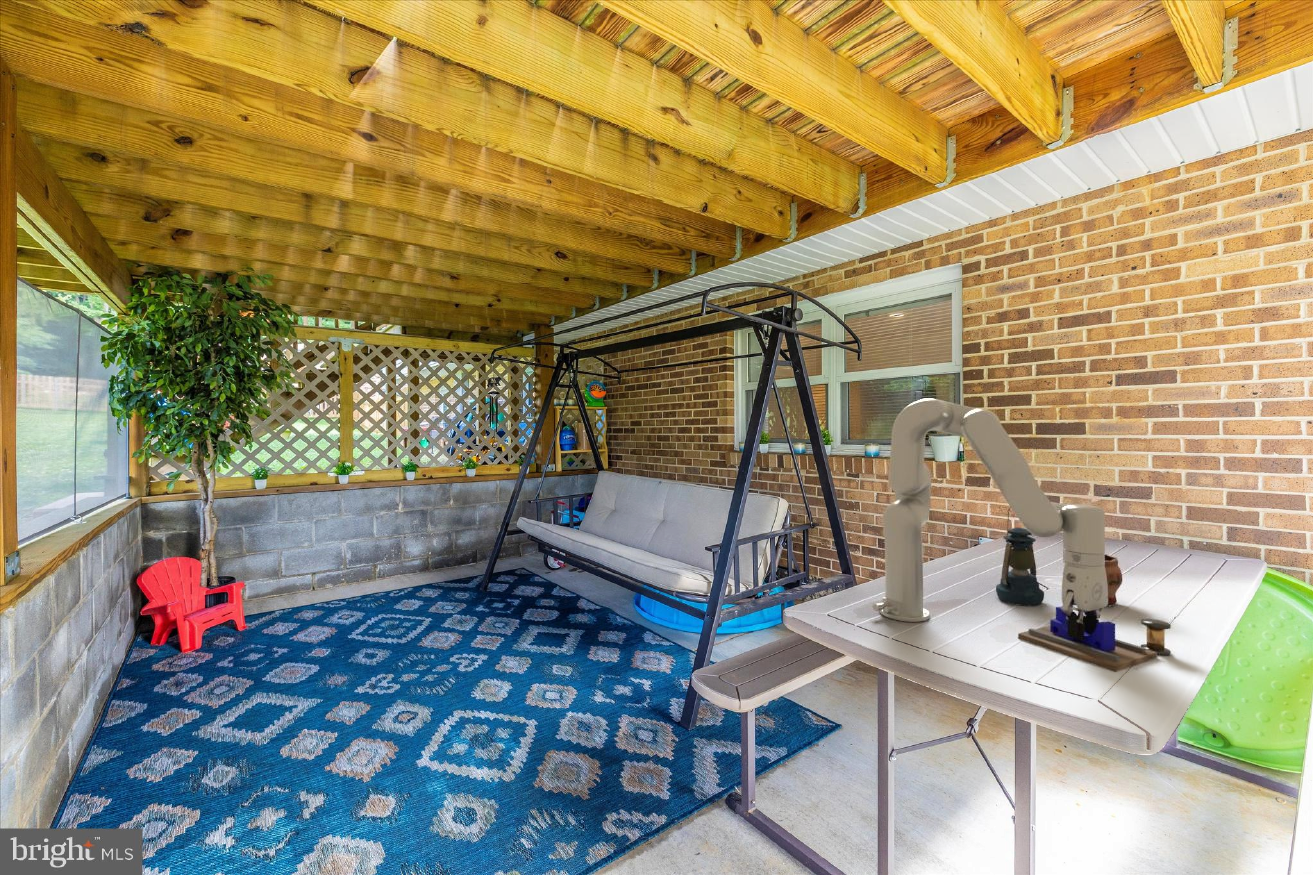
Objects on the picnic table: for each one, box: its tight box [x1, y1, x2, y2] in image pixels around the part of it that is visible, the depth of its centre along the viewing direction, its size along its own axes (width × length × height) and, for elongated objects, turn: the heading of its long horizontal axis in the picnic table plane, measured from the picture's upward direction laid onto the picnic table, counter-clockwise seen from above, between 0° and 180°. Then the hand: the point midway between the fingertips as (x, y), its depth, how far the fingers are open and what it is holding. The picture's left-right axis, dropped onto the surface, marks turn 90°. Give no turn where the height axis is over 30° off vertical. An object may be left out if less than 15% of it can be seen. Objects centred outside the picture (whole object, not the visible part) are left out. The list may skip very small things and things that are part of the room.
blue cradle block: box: [1049, 606, 1116, 651], centre depth 125 cm, size 12×4×6 cm, turn 8°
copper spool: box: [1140, 618, 1172, 657], centre depth 122 cm, size 5×5×7 cm
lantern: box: [995, 506, 1045, 607], centre depth 159 cm, size 14×12×35 cm
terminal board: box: [1017, 625, 1158, 673], centre depth 125 cm, size 16×20×2 cm
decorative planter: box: [1105, 553, 1123, 607], centre depth 155 cm, size 20×12×14 cm, turn 132°
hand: (1083, 635), depth 125 cm, fingers closed on blue cradle block, 4 cm apart
